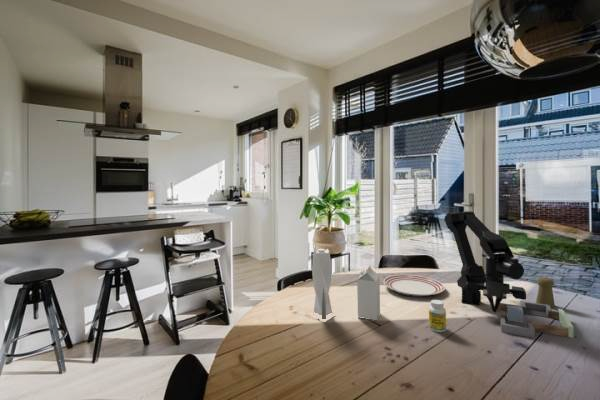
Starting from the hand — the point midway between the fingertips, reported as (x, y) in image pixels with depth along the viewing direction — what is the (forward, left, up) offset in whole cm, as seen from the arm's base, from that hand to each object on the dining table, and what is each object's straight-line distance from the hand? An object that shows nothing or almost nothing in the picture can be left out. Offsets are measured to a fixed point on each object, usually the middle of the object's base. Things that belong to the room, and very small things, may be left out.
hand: (494, 312), depth 114 cm
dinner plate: (-32, +16, -2) cm, 36 cm away
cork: (+18, +20, -2) cm, 27 cm away
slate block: (+6, 0, -2) cm, 6 cm away
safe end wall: (+20, 0, -1) cm, 20 cm away
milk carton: (-41, -22, -2) cm, 47 cm away
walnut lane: (+11, 0, -1) cm, 11 cm away
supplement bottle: (-17, -21, -2) cm, 27 cm away
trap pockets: (+11, 0, -1) cm, 11 cm away
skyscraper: (-57, -30, -2) cm, 65 cm away
